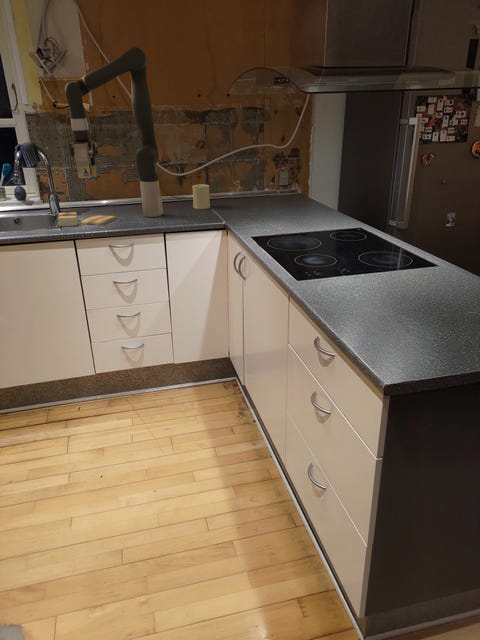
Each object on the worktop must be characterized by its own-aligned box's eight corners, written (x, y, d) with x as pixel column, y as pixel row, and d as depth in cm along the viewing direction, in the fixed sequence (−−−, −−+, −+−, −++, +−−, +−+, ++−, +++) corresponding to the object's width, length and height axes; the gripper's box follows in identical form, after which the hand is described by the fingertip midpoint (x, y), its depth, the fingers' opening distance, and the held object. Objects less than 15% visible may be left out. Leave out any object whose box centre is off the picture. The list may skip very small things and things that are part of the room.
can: (189, 207, 264) (188, 185, 259) (201, 204, 270) (200, 182, 265) (201, 209, 259) (200, 186, 253) (213, 206, 265) (212, 184, 260)
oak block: (77, 220, 242) (76, 212, 241) (76, 222, 239) (75, 213, 237) (61, 220, 241) (59, 212, 240) (59, 222, 238) (58, 214, 236)
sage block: (78, 223, 235) (76, 215, 233) (76, 226, 231) (74, 217, 230) (61, 224, 235) (59, 216, 233) (59, 226, 231) (57, 218, 229)
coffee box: (84, 175, 241) (79, 141, 234) (97, 175, 241) (92, 140, 234) (78, 178, 233) (72, 142, 226) (91, 177, 232) (85, 142, 226)
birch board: (115, 218, 244) (115, 216, 243) (103, 225, 231) (103, 222, 231) (93, 217, 246) (93, 215, 246) (80, 224, 234) (79, 222, 233)
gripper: (98, 128, 229) (103, 164, 236) (70, 128, 232) (76, 164, 239) (90, 129, 223) (96, 166, 230) (62, 130, 226) (68, 167, 233)
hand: (86, 165), depth 235 cm, fingers closed on coffee box, 7 cm apart
